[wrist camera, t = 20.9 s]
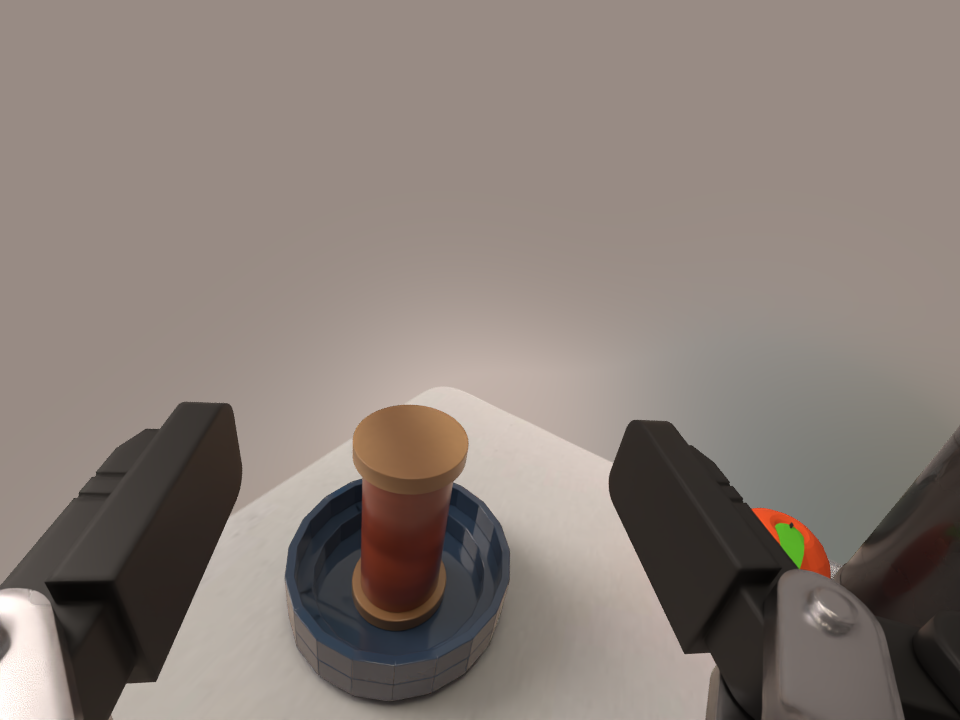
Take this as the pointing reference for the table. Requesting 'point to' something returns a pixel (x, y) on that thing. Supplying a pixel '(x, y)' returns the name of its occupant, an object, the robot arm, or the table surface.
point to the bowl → (383, 653)
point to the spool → (404, 512)
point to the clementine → (795, 541)
